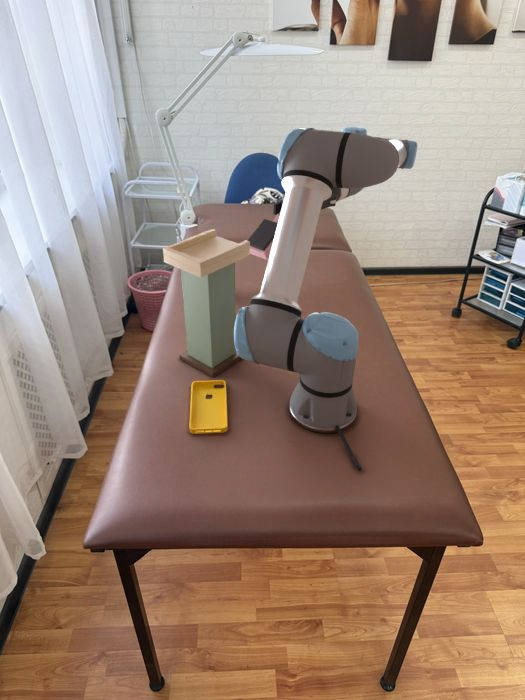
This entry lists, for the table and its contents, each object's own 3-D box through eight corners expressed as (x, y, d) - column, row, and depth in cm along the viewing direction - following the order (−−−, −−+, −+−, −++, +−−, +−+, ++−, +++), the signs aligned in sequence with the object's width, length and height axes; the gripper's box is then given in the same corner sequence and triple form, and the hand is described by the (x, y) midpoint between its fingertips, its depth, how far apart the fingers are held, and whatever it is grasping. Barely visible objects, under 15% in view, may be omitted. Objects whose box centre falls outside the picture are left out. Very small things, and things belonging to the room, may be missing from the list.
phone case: (189, 434, 109) (189, 429, 109) (192, 385, 123) (191, 381, 123) (227, 432, 110) (227, 428, 109) (225, 384, 124) (225, 379, 123)
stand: (216, 336, 141) (212, 228, 124) (249, 352, 135) (249, 241, 117) (173, 362, 131) (162, 248, 113) (206, 380, 125) (200, 263, 107)
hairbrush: (292, 194, 139) (289, 184, 137) (313, 199, 136) (310, 190, 133) (246, 252, 134) (242, 243, 131) (267, 260, 130) (263, 251, 127)
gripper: (352, 209, 145) (304, 232, 130) (306, 197, 153) (256, 217, 138) (355, 183, 141) (306, 203, 126) (308, 172, 149) (256, 190, 134)
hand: (280, 211), depth 132 cm, fingers closed on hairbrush, 3 cm apart
